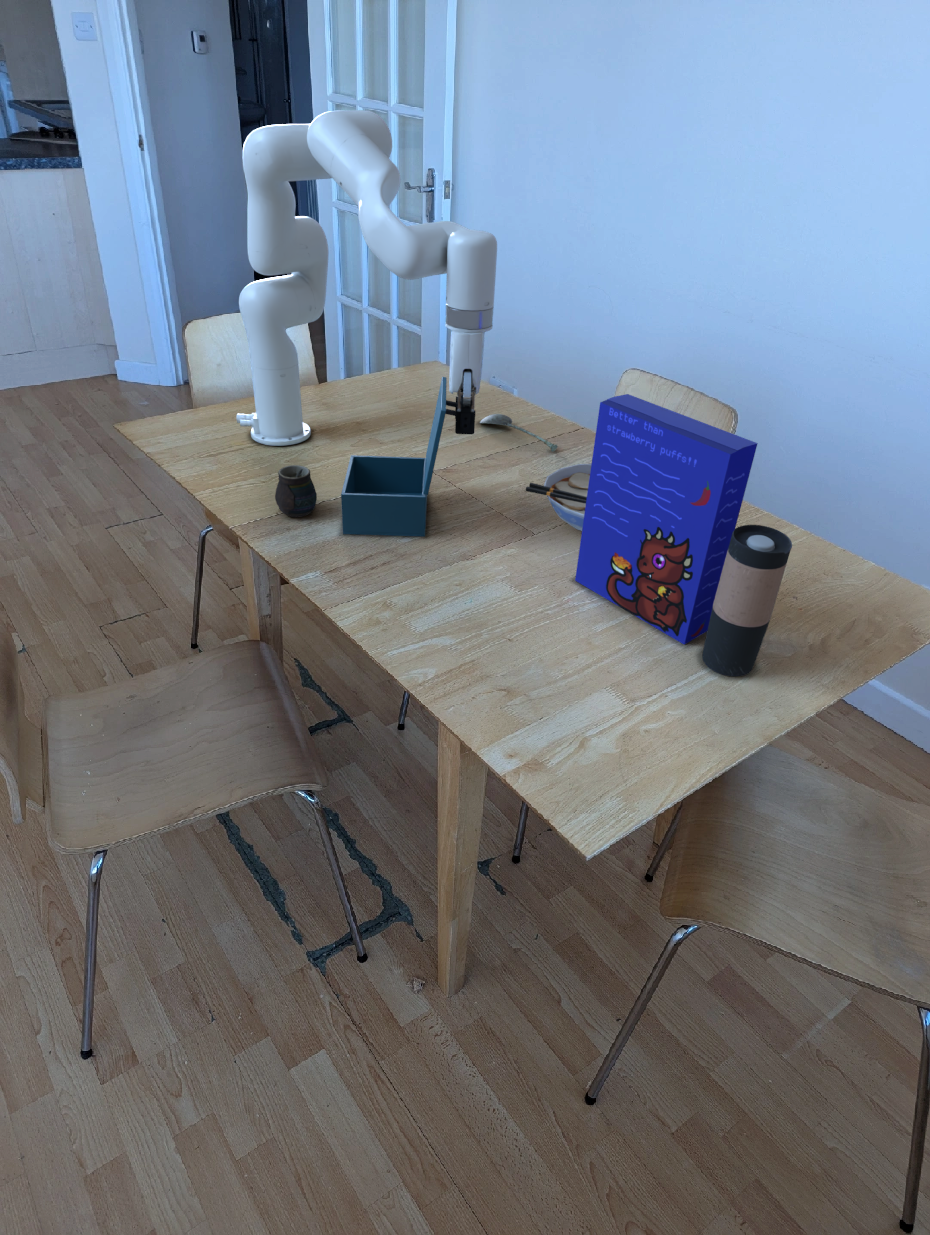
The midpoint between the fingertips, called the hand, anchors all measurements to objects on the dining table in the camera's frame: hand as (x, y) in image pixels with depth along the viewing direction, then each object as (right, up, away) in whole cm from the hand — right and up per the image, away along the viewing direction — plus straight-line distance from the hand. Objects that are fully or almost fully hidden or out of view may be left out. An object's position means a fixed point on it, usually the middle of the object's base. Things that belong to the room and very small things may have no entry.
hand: (464, 425), depth 140 cm
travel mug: (+37, -39, -23) cm, 59 cm away
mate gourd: (-30, -14, +8) cm, 34 cm away
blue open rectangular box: (-14, -14, +9) cm, 22 cm away
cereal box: (+27, -31, -12) cm, 43 cm away
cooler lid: (-5, -1, +1) cm, 6 cm away
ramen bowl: (+25, -17, +9) cm, 31 cm away
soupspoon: (+12, +7, +42) cm, 44 cm away
